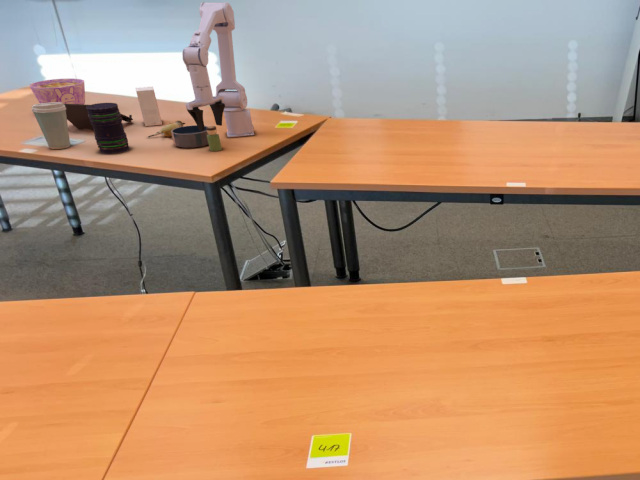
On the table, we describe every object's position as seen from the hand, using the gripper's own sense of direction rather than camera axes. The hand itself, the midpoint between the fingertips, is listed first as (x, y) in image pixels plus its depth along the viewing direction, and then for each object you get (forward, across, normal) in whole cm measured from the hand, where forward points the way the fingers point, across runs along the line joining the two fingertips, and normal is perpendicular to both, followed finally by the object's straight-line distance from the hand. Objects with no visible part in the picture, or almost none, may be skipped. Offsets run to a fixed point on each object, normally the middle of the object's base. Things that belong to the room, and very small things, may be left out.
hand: (210, 127), depth 252 cm
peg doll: (+8, 0, 0) cm, 8 cm away
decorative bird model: (+8, -4, -30) cm, 31 cm away
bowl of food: (+8, -9, -99) cm, 100 cm away
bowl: (+8, -2, -13) cm, 15 cm away
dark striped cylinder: (+8, +18, -30) cm, 36 cm away
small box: (+8, -14, -51) cm, 54 cm away
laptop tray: (+8, 0, -65) cm, 66 cm away
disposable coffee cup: (+8, +24, -50) cm, 57 cm away
